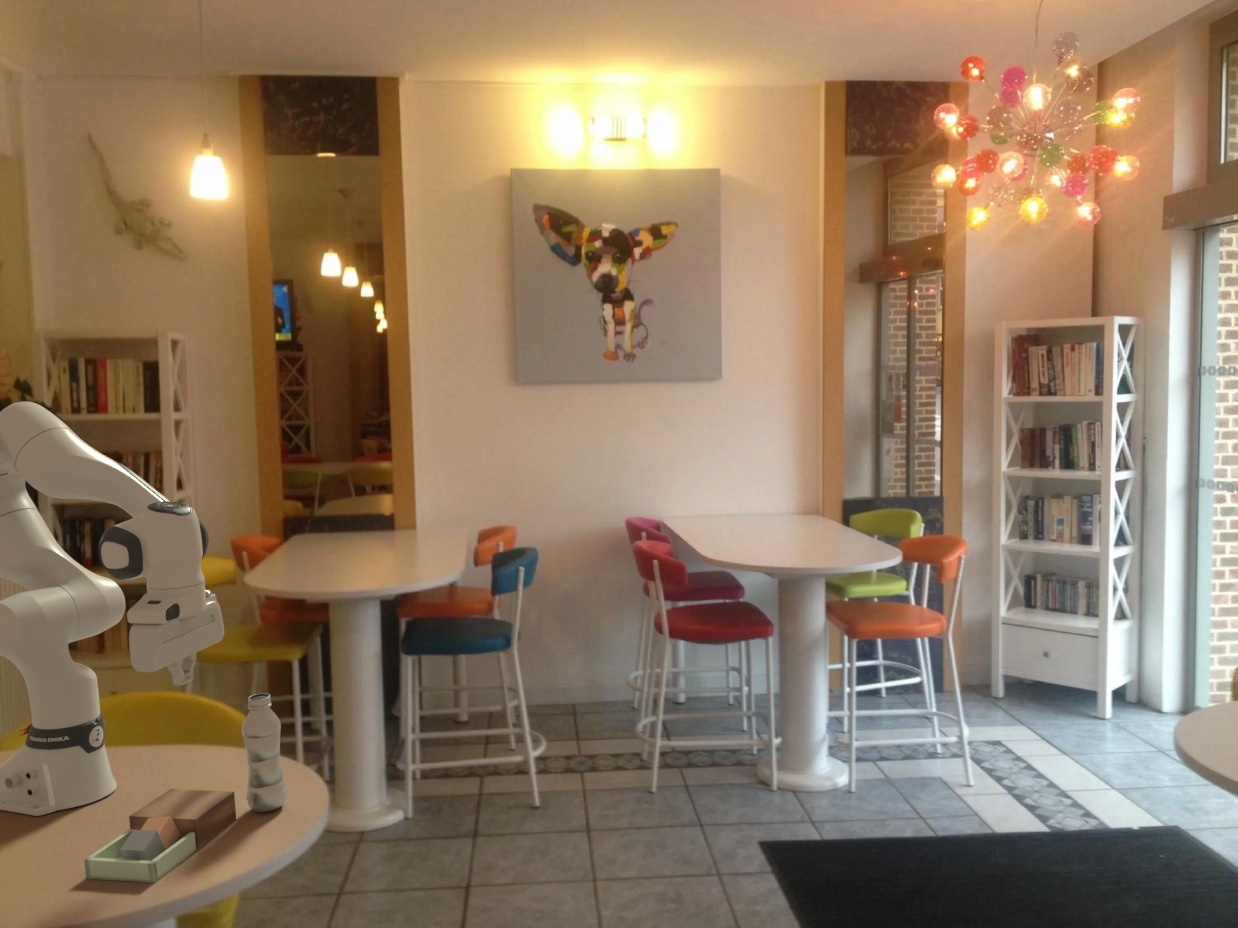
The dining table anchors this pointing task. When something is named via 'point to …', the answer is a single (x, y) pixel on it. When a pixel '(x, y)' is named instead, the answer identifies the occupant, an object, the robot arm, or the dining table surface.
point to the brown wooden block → (191, 812)
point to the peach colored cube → (163, 830)
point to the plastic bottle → (263, 755)
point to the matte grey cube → (142, 845)
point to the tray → (136, 861)
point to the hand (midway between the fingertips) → (183, 682)
